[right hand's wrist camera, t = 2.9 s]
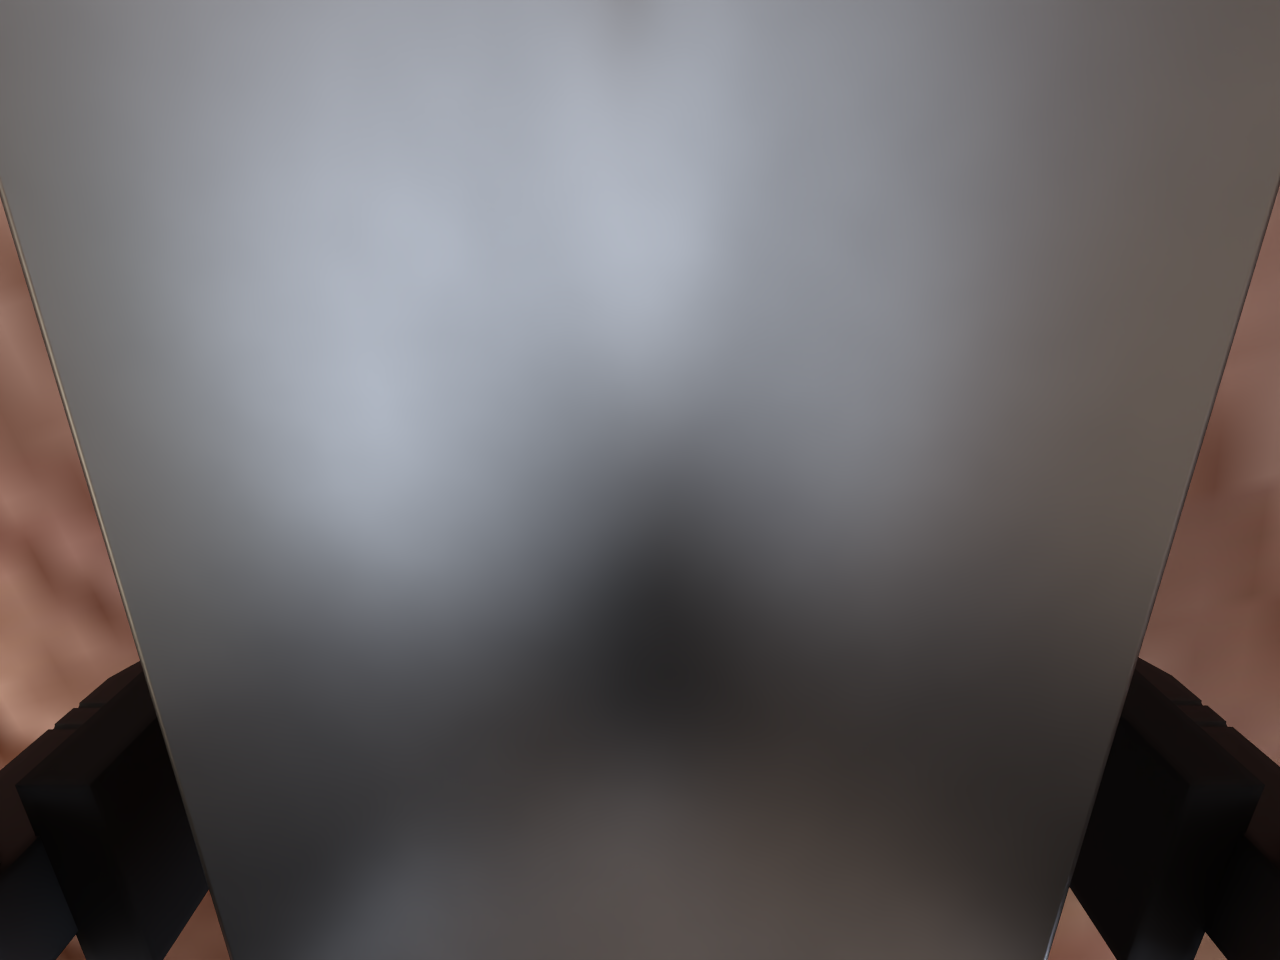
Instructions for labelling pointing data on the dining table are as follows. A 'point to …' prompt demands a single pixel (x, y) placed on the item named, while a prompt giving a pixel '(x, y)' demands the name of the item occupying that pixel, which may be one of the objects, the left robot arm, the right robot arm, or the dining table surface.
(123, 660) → the dining table surface
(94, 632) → the dining table surface
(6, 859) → the right robot arm
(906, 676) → the box
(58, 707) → the dining table surface
